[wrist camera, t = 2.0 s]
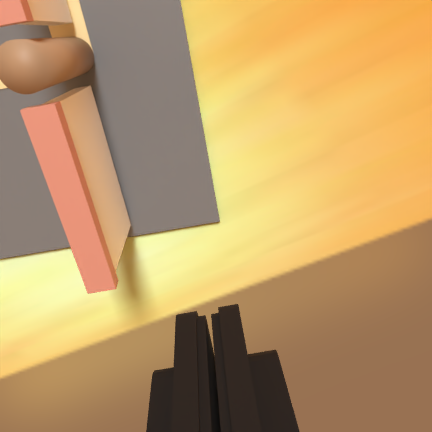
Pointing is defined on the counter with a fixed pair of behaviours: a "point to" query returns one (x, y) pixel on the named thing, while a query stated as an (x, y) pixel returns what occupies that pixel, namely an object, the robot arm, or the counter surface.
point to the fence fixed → (40, 48)
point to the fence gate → (81, 182)
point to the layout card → (115, 124)
